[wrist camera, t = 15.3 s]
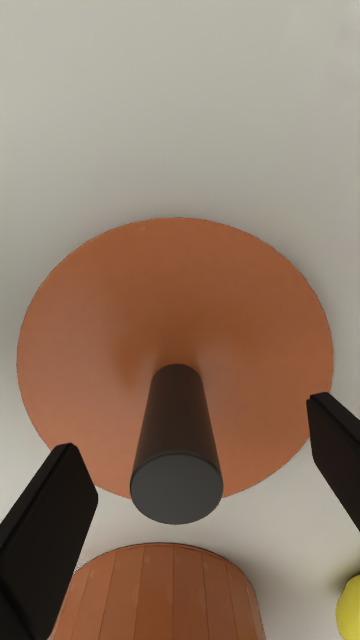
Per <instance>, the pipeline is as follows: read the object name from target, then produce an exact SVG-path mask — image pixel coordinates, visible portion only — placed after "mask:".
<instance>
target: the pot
mask: <svg viewBox="0 0 360 640" xmlns="http://www.w3.org/2000/svg"><path fill="white" fill-rule="evenodd" d="M47 640H266V637H265V633H264V629H263V624H262V620H261V616H260V612H259V607H258V603H257V599H256V595H255V591H254V589H253V587H252V585H251V583H250V582H249V580H248V579H247V577H246V576H245V575H244V574H243V573H242V571H240V570H239V569H238V568H237V567H236V566H235V565H233V564H232V563H230V562H229V561H227V560H226V559H224V558H222V557H220V556H218V555H216V554H214V553H211V552H209V551H206V550H203V549H200V548H196V547H192V546H188V545H180V544H172V543H147V544H139V545H132V546H128V547H123V548H119V549H116V550H113V551H110V552H108V553H105V554H103V555H101V556H99V557H97V558H95V559H93V560H92V561H90V562H88V563H87V564H85V565H84V566H83V567H82V568H81V569H79V570H78V571H77V572H76V573H75V574H74V575H73V577H72V578H71V581H70V583H69V586H68V589H67V592H66V595H65V597H64V600H63V603H62V606H61V609H60V612H59V614H58V617H57V620H56V623H55V626H54V628H53V631H52V633H51V635H50V637H49V638H48V639H47Z"/></svg>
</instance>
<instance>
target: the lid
mask: <svg viewBox="0 0 360 640" xmlns="http://www.w3.org/2000/svg"><path fill="white" fill-rule="evenodd" d="M17 374H18V384H19V388H20V392H21V396H22V400H23V403H24V406H25V408H26V411H27V413H28V416H29V418H30V420H31V422H32V424H33V426H34V427H35V429H36V431H37V432H38V434H39V436H40V437H41V438H42V440H43V441H44V442H45V444H46V445H47V446H48V448H49V449H50V450H51V451H52V450H53V449H54V447H55V446H57V445H60V444H65V443H73V444H74V445H76V446H77V447H78V449H79V451H80V453H81V456H82V458H83V460H84V463H85V465H86V468H87V470H88V472H89V475H90V477H91V479H92V482H93V484H94V485H96V486H98V487H100V488H102V489H104V490H106V491H109V492H111V493H114V494H117V495H119V496H122V497H126V498H130V499H132V501H133V503H134V505H135V506H136V508H137V509H138V510H139V511H140V512H141V513H142V514H144V515H145V516H147V517H148V518H150V519H152V520H154V521H157V522H160V523H164V524H174V525H178V524H187V523H191V522H195V521H198V520H200V519H202V518H204V517H205V516H207V515H208V514H210V513H211V512H212V511H213V510H214V509H215V508H216V507H217V505H218V504H219V502H220V500H221V498H224V497H227V496H230V495H233V494H235V493H238V492H241V491H243V490H245V489H247V488H249V487H251V486H254V485H256V484H258V483H259V482H261V481H262V480H264V479H266V478H267V477H269V476H270V475H272V474H273V473H275V472H276V471H277V470H278V469H280V468H281V467H282V466H283V465H285V464H286V463H287V462H288V461H289V460H290V459H291V458H292V457H293V456H294V455H295V454H296V453H297V452H298V451H299V450H300V448H301V447H302V446H303V445H304V443H305V442H306V441H307V440H308V438H309V437H310V432H309V424H308V415H307V407H306V400H307V399H310V395H311V394H316V393H321V392H328V393H330V389H331V383H332V376H333V346H332V339H331V332H330V329H329V326H328V322H327V319H326V316H325V313H324V311H323V309H322V306H321V304H320V302H319V300H318V298H317V296H316V294H315V293H314V291H313V290H312V288H311V287H310V285H309V284H308V282H307V281H306V279H305V278H304V277H303V275H302V274H301V273H300V272H299V271H298V270H297V269H296V268H295V267H294V266H293V265H292V264H291V262H290V261H289V260H287V259H286V258H285V257H284V256H282V255H281V254H280V253H279V252H277V251H276V250H275V249H274V248H272V247H271V246H269V245H268V244H266V243H264V242H263V241H261V240H259V239H257V238H256V237H254V236H252V235H250V234H248V233H246V232H243V231H241V230H238V229H236V228H233V227H231V226H228V225H224V224H220V223H216V222H212V221H208V220H201V219H191V218H181V217H179V218H156V219H150V220H145V221H140V222H134V223H130V224H127V225H124V226H121V227H118V228H115V229H113V230H110V231H107V232H105V233H103V234H101V235H99V236H97V237H95V238H94V239H92V240H90V241H88V242H86V243H85V244H83V245H82V246H80V247H79V248H78V249H76V250H75V251H73V252H72V253H71V254H69V255H68V256H67V257H66V258H65V259H64V260H63V261H62V262H61V263H60V264H59V265H58V266H57V267H56V268H55V269H53V270H52V272H51V273H50V274H49V275H48V277H47V278H46V279H45V281H44V282H43V283H42V285H41V286H40V287H39V289H38V290H37V292H36V294H35V296H34V298H33V300H32V301H31V303H30V305H29V307H28V309H27V312H26V315H25V318H24V321H23V323H22V326H21V331H20V336H19V341H18V346H17Z"/></svg>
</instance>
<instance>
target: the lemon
mask: <svg viewBox="0 0 360 640" xmlns="http://www.w3.org/2000/svg"><path fill="white" fill-rule="evenodd" d="M336 622H337V627H338V630H339V633H340V635H341V636H342V638H343V639H344V640H360V574H359V575H357V576H355V577H353V578H351V579H350V580H349V581H348V582H347V584H346V586H345V589H344V591H343V593H342V595H341V596H340V598H339V600H338V602H337V605H336Z"/></svg>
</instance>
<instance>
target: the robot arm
mask: <svg viewBox="0 0 360 640" xmlns="http://www.w3.org/2000/svg"><path fill="white" fill-rule="evenodd" d="M306 407H307V415H308V424H309V432H310V440H311V448H312V456H313V459H314V462H315V464H316V466H317V468H318V469H319V471H320V472H321V474H322V475H323V477H324V478H325V480H326V481H327V483H328V484H329V486H330V487H331V489H332V490H333V492H334V493H335V495H336V496H337V498H338V499H339V501H340V502H341V504H342V505H343V507H344V508H345V510H346V512H347V513H348V515H349V516H350V518H351V519H352V521H353V522H354V524H355V525H356V527H357V528H358V530H359V531H360V420H359V419H358V418H356V417H355V416H354V415H353V414H352V413H351V412H350V411H349V410H347V409H346V408H345V407H344V406H343V405H342V404H341V403H339V402H338V401H337V400H336V399H335V398H334V397H333V396H332V395H330V394H329V393H328V392H321V393H316V394H311V395H310V399H307V400H306ZM97 504H98V493H97V491H96V489H95V486H94V484H93V482H92V479H91V477H90V475H89V472H88V470H87V468H86V465H85V463H84V460H83V458H82V456H81V453H80V451H79V449H78V447H77V446H76V445H74V444H73V443H65V444H60V445H57V446H55V447H54V449H53V450H52V451H51V453H50V454H49V456H48V457H47V458H46V460H45V461H44V463H43V464H42V466H41V467H40V468H39V470H38V471H37V473H36V474H35V476H34V477H33V478H32V480H31V481H30V483H29V484H28V486H27V487H26V488H25V490H24V491H23V493H22V494H21V495H20V497H19V498H18V500H17V501H16V503H15V504H14V505H13V507H12V508H11V510H10V511H9V513H8V514H7V515H6V517H5V518H4V520H3V521H2V522H1V524H0V640H47V639H48V638H49V637H50V635H51V633H52V631H53V628H54V626H55V623H56V620H57V617H58V614H59V612H60V609H61V606H62V603H63V600H64V597H65V595H66V592H67V589H68V586H69V583H70V581H71V578H72V575H73V572H74V569H75V567H76V564H77V561H78V558H79V555H80V553H81V550H82V547H83V544H84V541H85V539H86V536H87V533H88V530H89V527H90V524H91V522H92V519H93V516H94V513H95V510H96V508H97Z"/></svg>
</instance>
